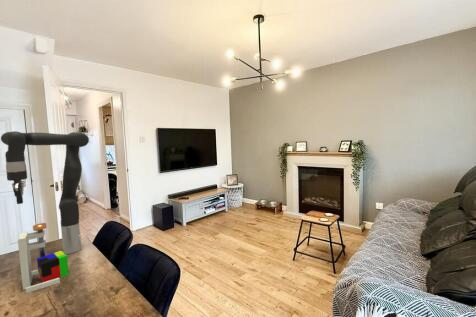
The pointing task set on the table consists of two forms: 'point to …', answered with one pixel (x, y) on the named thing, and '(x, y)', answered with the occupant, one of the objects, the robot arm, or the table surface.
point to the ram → (39, 229)
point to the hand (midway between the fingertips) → (20, 203)
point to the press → (26, 261)
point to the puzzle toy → (52, 266)
